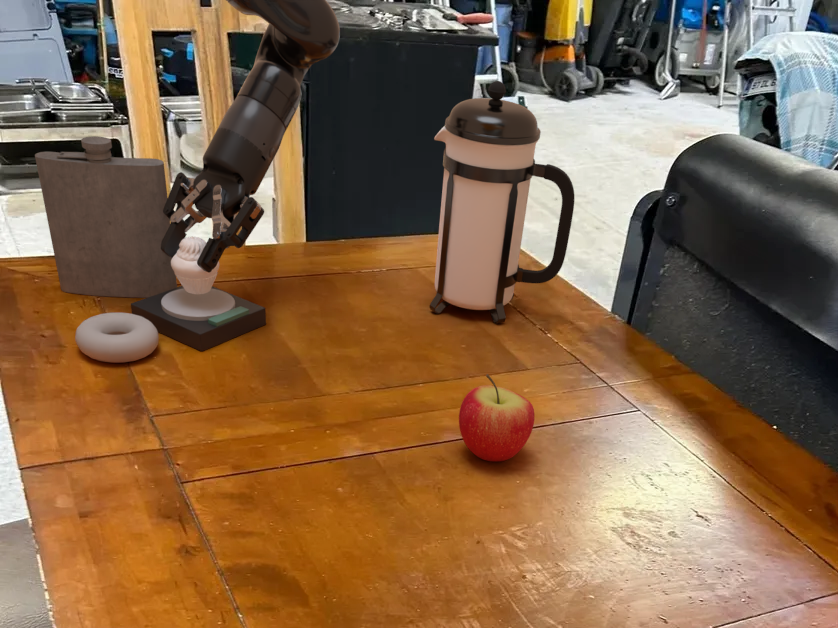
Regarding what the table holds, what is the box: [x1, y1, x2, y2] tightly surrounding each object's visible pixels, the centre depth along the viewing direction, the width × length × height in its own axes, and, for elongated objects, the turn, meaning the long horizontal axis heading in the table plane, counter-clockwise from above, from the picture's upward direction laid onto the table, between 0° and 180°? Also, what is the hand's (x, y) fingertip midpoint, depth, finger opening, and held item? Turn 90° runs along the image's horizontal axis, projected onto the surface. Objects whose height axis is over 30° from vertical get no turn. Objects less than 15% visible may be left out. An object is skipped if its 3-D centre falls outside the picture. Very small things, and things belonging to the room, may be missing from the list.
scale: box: [130, 285, 267, 352], centre depth 120 cm, size 13×12×3 cm
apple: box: [458, 373, 536, 462], centre depth 99 cm, size 8×8×10 cm
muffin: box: [171, 236, 220, 294], centre depth 116 cm, size 6×6×7 cm
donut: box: [74, 311, 159, 364], centre depth 112 cm, size 10×3×10 cm
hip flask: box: [34, 135, 178, 299], centre depth 119 cm, size 16×4×20 cm, turn 97°
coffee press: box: [429, 80, 575, 325], centre depth 125 cm, size 17×16×30 cm
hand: (184, 260), depth 114 cm, fingers closed on muffin, 6 cm apart
